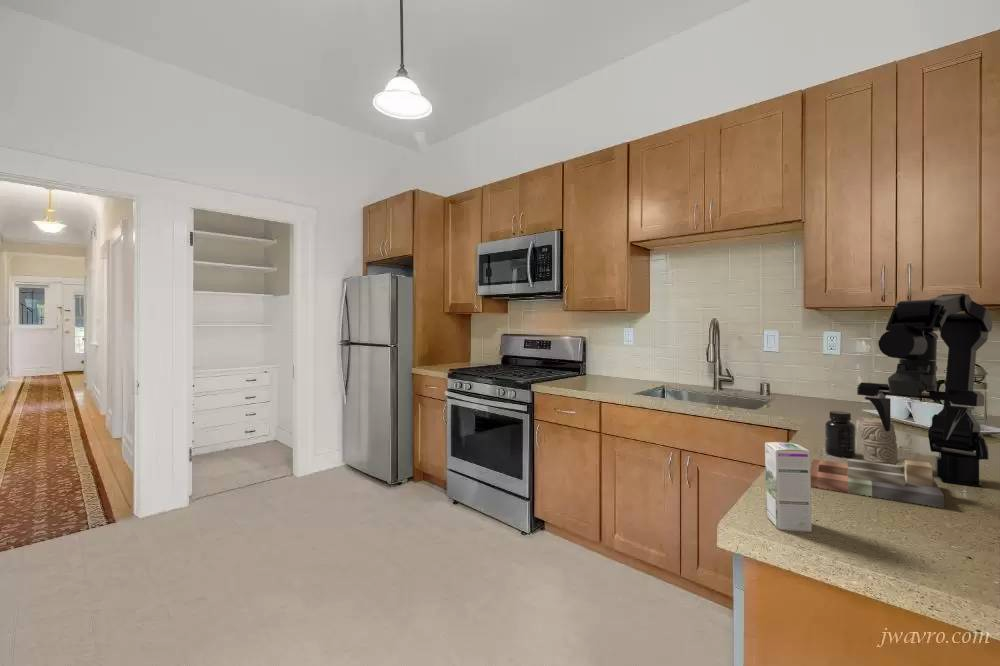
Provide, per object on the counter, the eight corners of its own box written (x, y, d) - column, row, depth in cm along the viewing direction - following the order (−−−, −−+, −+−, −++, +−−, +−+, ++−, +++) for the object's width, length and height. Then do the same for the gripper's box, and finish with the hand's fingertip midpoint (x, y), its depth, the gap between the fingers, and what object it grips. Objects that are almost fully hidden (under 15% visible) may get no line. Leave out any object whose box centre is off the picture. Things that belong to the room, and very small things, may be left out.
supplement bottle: (819, 451, 131) (819, 410, 131) (841, 451, 132) (841, 409, 132) (838, 458, 124) (838, 414, 124) (862, 457, 125) (861, 414, 125)
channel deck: (931, 486, 102) (931, 466, 102) (944, 508, 89) (944, 486, 89) (812, 468, 115) (812, 451, 115) (809, 486, 103) (809, 466, 103)
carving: (866, 461, 122) (865, 416, 122) (902, 468, 115) (901, 421, 115) (856, 465, 118) (855, 419, 118) (892, 472, 112) (892, 424, 112)
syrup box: (813, 532, 80) (812, 450, 80) (776, 530, 81) (775, 448, 81) (798, 519, 85) (798, 442, 85) (764, 517, 87) (763, 441, 86)
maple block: (929, 481, 98) (929, 462, 98) (932, 486, 95) (932, 467, 95) (904, 477, 100) (904, 459, 100) (906, 482, 97) (906, 464, 97)
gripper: (847, 356, 98) (845, 428, 98) (969, 361, 82) (966, 447, 82) (868, 358, 104) (866, 426, 104) (986, 363, 88) (984, 444, 88)
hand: (915, 435), depth 94 cm, fingers open, 9 cm apart
